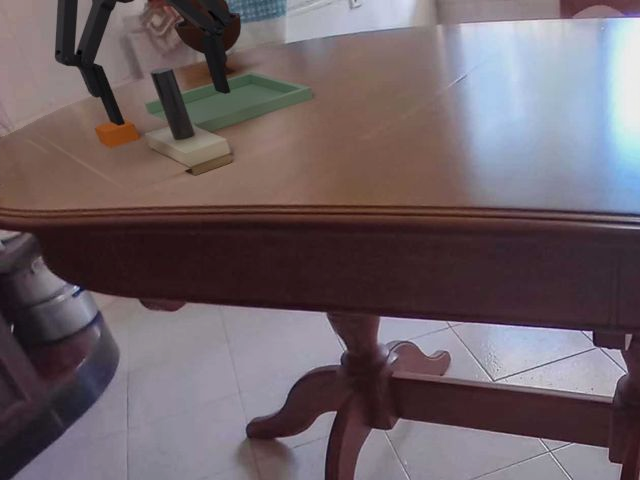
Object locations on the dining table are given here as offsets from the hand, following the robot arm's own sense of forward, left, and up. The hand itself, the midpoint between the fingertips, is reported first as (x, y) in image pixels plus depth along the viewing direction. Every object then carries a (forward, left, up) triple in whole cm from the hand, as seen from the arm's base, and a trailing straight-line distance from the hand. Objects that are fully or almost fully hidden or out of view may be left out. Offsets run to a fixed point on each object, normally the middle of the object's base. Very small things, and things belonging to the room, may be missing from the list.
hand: (172, 106), depth 86 cm
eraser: (-14, -4, -7) cm, 16 cm away
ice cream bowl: (-34, +22, -7) cm, 41 cm away
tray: (-14, +13, -7) cm, 20 cm away
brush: (0, 0, -7) cm, 7 cm away
